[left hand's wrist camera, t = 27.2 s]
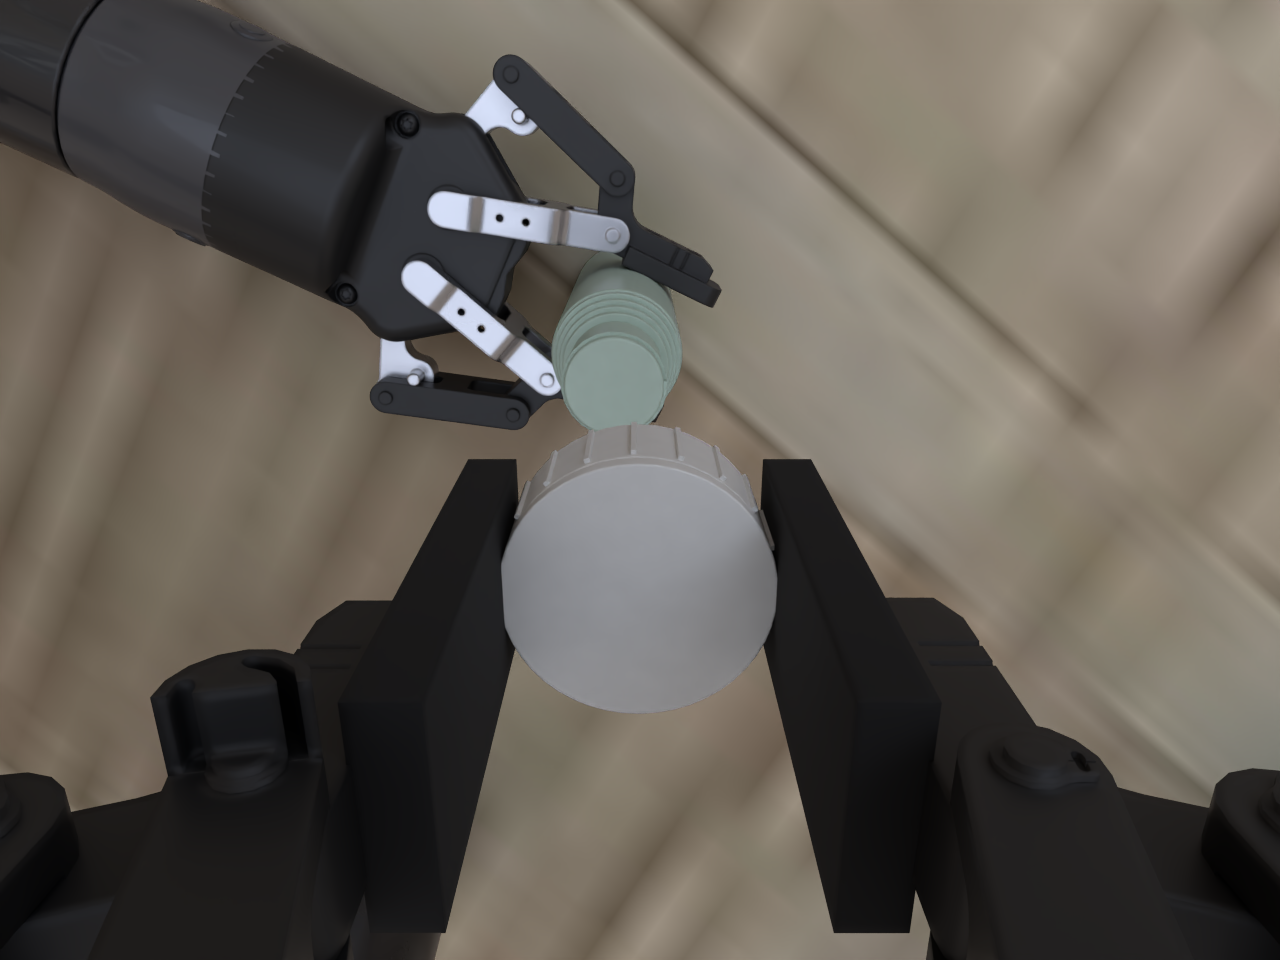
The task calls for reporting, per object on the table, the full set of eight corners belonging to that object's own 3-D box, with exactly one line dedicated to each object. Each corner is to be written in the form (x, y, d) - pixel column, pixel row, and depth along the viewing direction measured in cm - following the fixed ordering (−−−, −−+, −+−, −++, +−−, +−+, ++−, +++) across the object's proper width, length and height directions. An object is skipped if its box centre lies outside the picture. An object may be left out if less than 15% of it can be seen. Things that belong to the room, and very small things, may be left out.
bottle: (574, 337, 40) (537, 455, 25) (576, 243, 39) (538, 308, 24) (666, 341, 40) (684, 461, 25) (672, 247, 39) (694, 315, 24)
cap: (808, 582, 15) (831, 642, 13) (595, 689, 15) (590, 759, 14) (688, 372, 13) (695, 407, 12) (462, 499, 14) (437, 550, 12)
